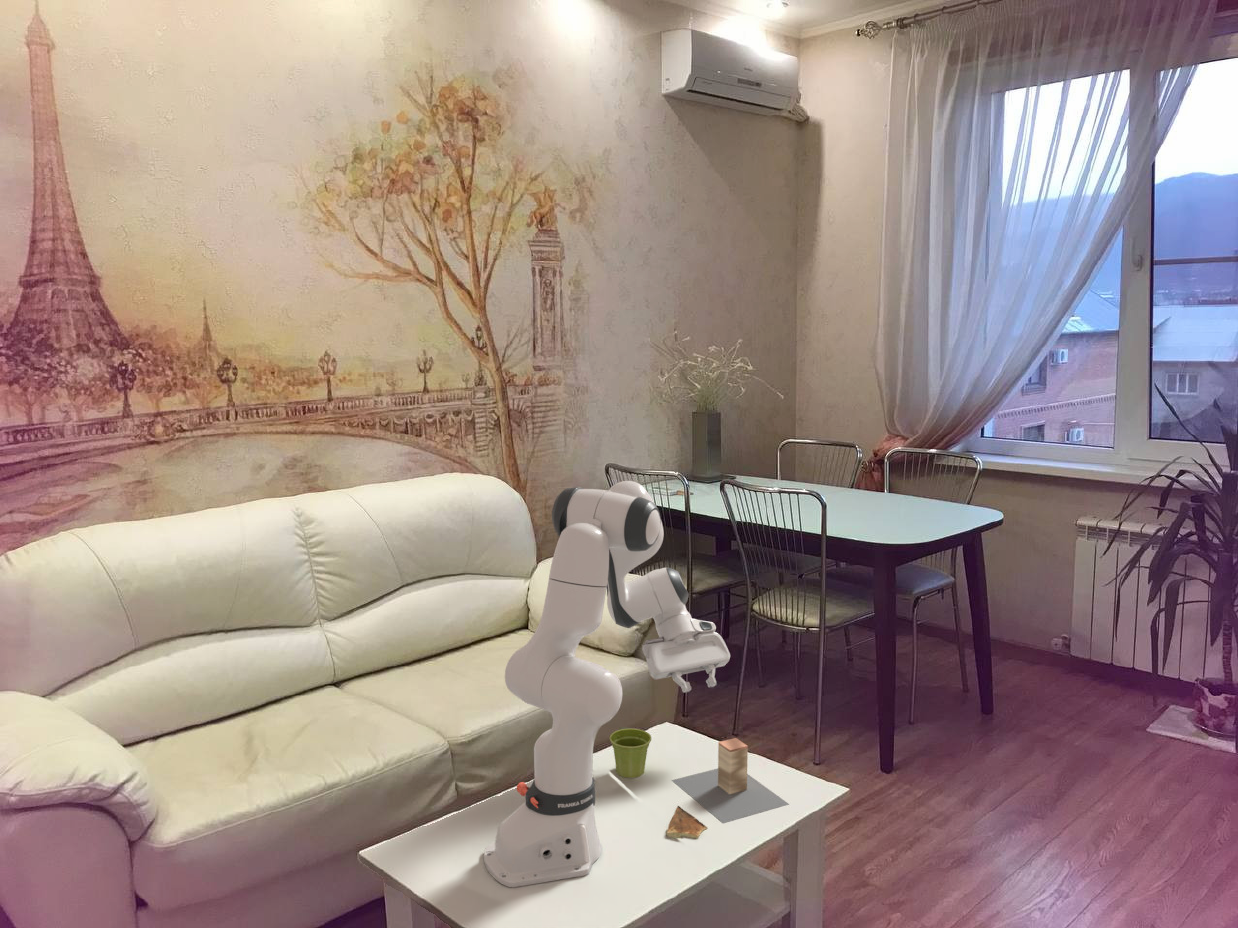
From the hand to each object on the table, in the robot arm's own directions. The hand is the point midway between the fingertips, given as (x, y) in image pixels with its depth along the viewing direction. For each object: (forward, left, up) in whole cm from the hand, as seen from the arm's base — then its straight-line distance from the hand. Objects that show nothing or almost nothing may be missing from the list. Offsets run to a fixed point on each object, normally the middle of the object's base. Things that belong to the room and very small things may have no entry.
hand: (700, 688), depth 214 cm
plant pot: (-16, +4, -19) cm, 25 cm away
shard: (-18, -21, -19) cm, 34 cm away
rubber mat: (-2, -15, -18) cm, 24 cm away
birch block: (0, -13, -18) cm, 22 cm away
